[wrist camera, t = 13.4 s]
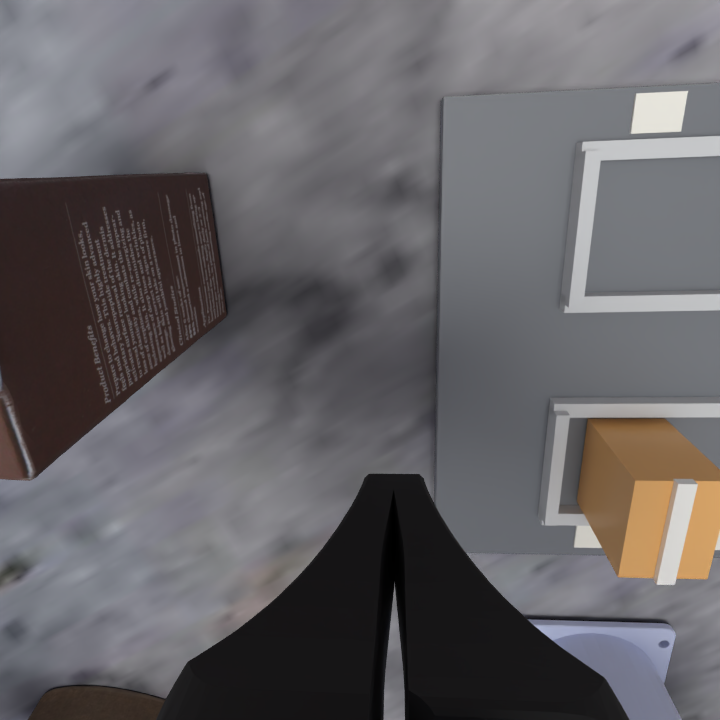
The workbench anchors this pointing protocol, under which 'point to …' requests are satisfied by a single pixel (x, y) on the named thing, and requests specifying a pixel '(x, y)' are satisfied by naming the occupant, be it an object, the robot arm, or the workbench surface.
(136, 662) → the workbench surface
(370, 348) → the workbench surface
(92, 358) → the box
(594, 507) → the fader orange
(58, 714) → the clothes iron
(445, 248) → the plate
